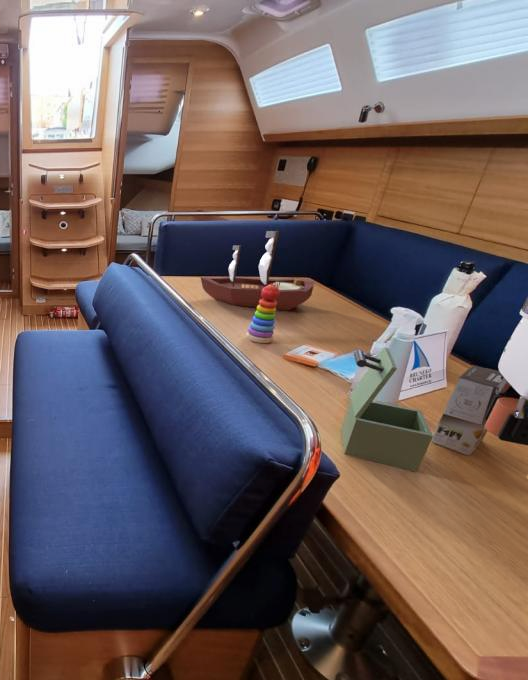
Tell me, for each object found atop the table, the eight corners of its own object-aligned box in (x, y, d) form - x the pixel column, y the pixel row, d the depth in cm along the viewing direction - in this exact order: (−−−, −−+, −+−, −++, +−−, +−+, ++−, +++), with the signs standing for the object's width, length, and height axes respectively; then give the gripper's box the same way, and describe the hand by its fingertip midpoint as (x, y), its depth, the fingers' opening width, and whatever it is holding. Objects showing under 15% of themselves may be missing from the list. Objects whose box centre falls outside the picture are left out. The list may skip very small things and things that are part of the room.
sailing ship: (309, 316, 155) (330, 236, 143) (195, 304, 173) (205, 232, 161) (305, 301, 169) (323, 228, 157) (199, 291, 187) (209, 225, 175)
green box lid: (388, 348, 85) (359, 338, 87) (397, 368, 77) (365, 357, 79) (354, 395, 91) (327, 385, 93) (359, 418, 84) (329, 407, 86)
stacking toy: (258, 345, 135) (270, 290, 128) (240, 336, 142) (250, 283, 135) (278, 341, 137) (291, 287, 129) (259, 332, 144) (270, 280, 136)
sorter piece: (521, 428, 59) (535, 401, 57) (534, 445, 55) (550, 417, 54) (479, 420, 61) (492, 394, 59) (490, 436, 57) (504, 409, 56)
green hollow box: (407, 444, 89) (421, 410, 86) (416, 472, 82) (433, 436, 78) (340, 429, 95) (351, 396, 91) (344, 454, 88) (356, 419, 84)
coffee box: (470, 457, 85) (504, 390, 78) (429, 441, 90) (458, 377, 83) (483, 440, 89) (516, 375, 83) (443, 426, 94) (472, 363, 88)
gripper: (670, 341, 42) (579, 479, 50) (580, 292, 55) (519, 407, 63) (560, 329, 46) (491, 460, 53) (500, 286, 59) (451, 396, 66)
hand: (507, 430), depth 58 cm, fingers closed on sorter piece, 4 cm apart
